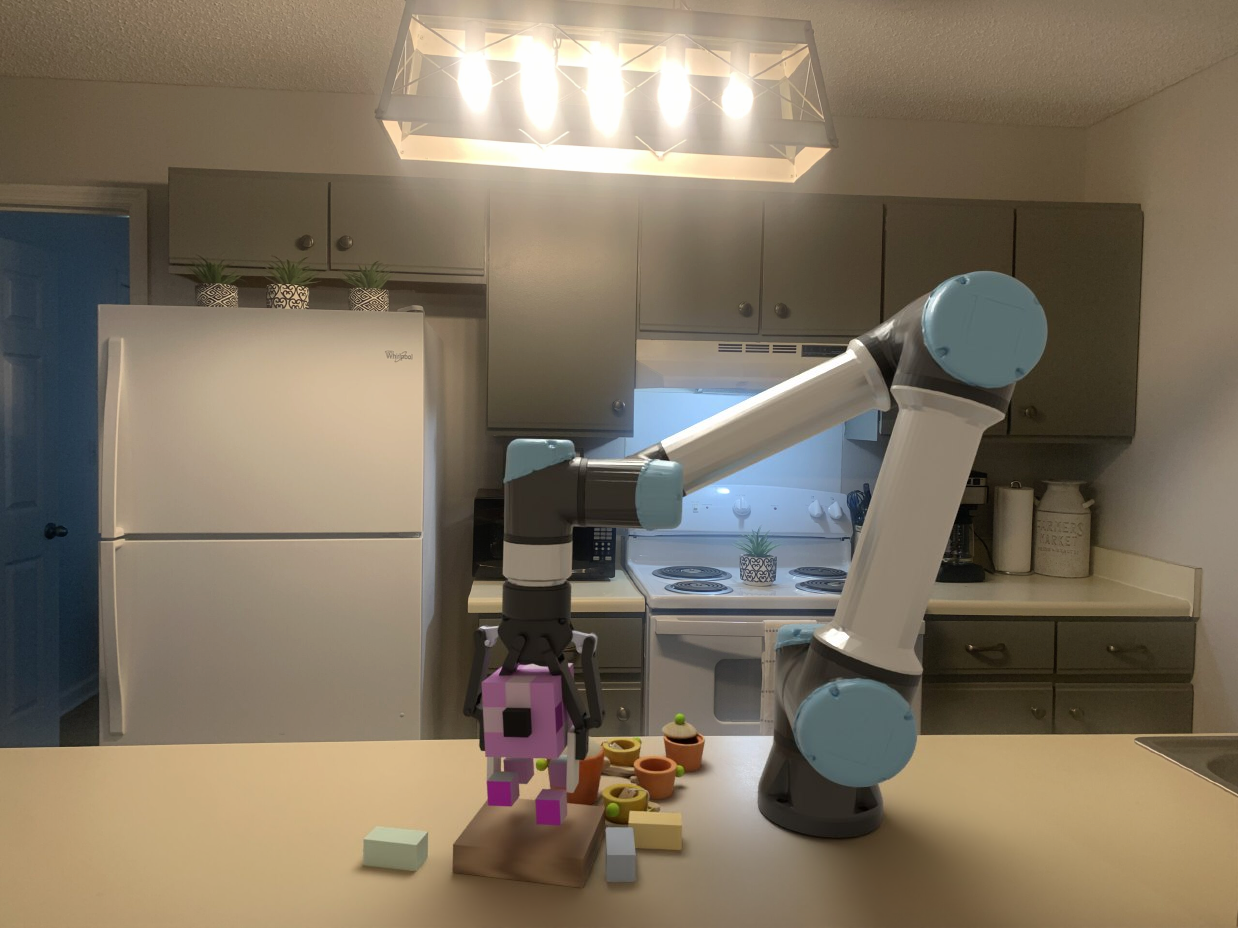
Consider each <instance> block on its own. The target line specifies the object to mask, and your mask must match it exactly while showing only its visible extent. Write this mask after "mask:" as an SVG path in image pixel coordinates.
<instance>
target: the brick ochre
mask: <svg viewBox="0 0 1238 928" xmlns="http://www.w3.org/2000/svg"><path fill="white" fill-rule="evenodd" d="M682 817H683V814H682V812H662V811H659V812H644V811H630V813H629V823H628V827H633V834H634V843H635V849H649V850H650V849H651V850H653V849H654V850H670V851H677V850H678V851H682V847H683V846H682V844H683V843H682V841H683V840H682V839H683V838H682V837H683V836H682V835H683V831H682V830H683V818H682Z"/></svg>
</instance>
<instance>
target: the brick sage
mask: <svg viewBox="0 0 1238 928" xmlns="http://www.w3.org/2000/svg"><path fill="white" fill-rule="evenodd" d="M362 847H363V855H362V856H363V857H362V858H363V860H362V861H363V863H362V865H363V866H369V867H374V868H375V867H376V868H377V867H378V868H386V869H393V870H394V869H395V870H402V871H412V872H417V871H418V870H419V868H420V867H421V866H422V865H423V864H424V862H425V861H426V860H428V857H429V856H428V855H429V831H425V830H417V829H409V828H399V827H398V828H397V827H388V826H387V827H386V826H382V825H381V826H380V825H376V826H375V827H374V828H373V829H372V830H371V831H370V832H369V833H368V834H367V835H366V836H365V837H364V838H363V846H362Z"/></svg>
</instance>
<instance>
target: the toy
mask: <svg viewBox="0 0 1238 928" xmlns="http://www.w3.org/2000/svg"><path fill="white" fill-rule="evenodd" d="M568 667H569V669H570V672H571V674H572V676H573V679H574V680H575V673H574V662H568ZM501 669H502V666H501V667H499V668H498V669H497V670H496V671H495V672H493V673H492V674H491V675H489V676H487V677H486V679H485V680H484V681H483V682H482V704H483V719H484V739H485V751H484V754H485V755H484V756H485V758H487V757H501V758H503V762H502V763H503V771H502V770H501V771H495V772H494V773H493V774H492V775H491V777H490V778H489V779H488V780H487V779H486V796H487V799H488V806H508V807H512V806H513V804H514V803H515V802H516V800H517V799H518V798H520V796H521V795H520V793H521V792H520V785H527V784H529V782H530V781H531V780H532V778H533V777H534V776H535V765H534V764H535V763H534V759H545V760H547V759H552V760H551V761H550V762H549V774H548V780H549V779H550V782H549V787H566V786H567V755H561V753H562V752H563V751H564V749H565V748H566V747H567V740H568V732H569V730H570V729H571V727H572V726H573V723H572V721H571V718H570V716H569V713H568V711H567V709H566V706H565V704H564V701H563V699H562V684H561V676H552V675H551V674H550V672H549V669H548V667H543V666H538V665H535V664H530V665H519V666H518V668H517V670H516V671H515V672H514V673H513V674H512V675H510V676H498V675H499V673H500V671H501ZM534 800H535V804H536V824H541V825H561V824H562V823H563V821H564V819H565V817H566V816H567V795H566V790H560V789H550V788H542V789H541V791H540V792H539V793H538V795H537V796H536V797H535V799H534Z"/></svg>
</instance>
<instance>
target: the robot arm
mask: <svg viewBox="0 0 1238 928" xmlns="http://www.w3.org/2000/svg"><path fill="white" fill-rule="evenodd" d="M1047 339H1048V322H1047V316H1046V313H1045V311H1044V308H1043V306H1042V304H1041V303H1040V302H1039V300H1038V298H1037V297H1036V295H1035V294H1034V292H1033V291H1032V289H1030V288H1029V287H1028V286H1026V285H1025V283H1023V282H1021V281H1020V280H1018V279H1017V278H1015V277H1013V276H1011V275H1008V274H1005V273H1002V272H998V271H992V270H991V271H990V270H982V271H981V270H979V271H973V272H968V273H964V274H959V275H955V276H953V277H950V278H948V279H945V280H944V281H943V282H942V283H940V284H938V285H937V286H936V287H935V288H934V289H933V290H931V291H929V292H928V293H925V294H923V295H922V296H919V297H917V298H916V299H914V300H913V301H911V302H910V303H909V304H907V305H906V306H904V308H902V309H901V310H899V311H898V312H897V313H895V314H894V315H892V316H891V317H889V318H888V319H887V320H885V321H883V322H882V323H880V324H879V325H878V326H876V327H874V328H873V329H870V330H869V331H867V332H865V333H864V334H862V335H859V336H857V337H855V338H853V339H851V340H850V341H849V344H848V346H847V348H846V351H845V352H843V353H841V354H838V355H837V356H835V357H833V358H830V359H828V360H826V361H824V362H822V363H819V364H818V365H816V366H814V367H812V368H810V369H808V370H806V371H803V372H801V373H800V374H797V375H796V376H793V377H791V378H789V379H787V380H785V381H782V382H781V383H779V384H777V385H774V386H772V387H771V388H768V389H765V391H761V392H760V393H758V394H756V395H754V396H752V397H749V398H748V399H746V400H743V401H741V402H739V403H737V404H734V405H733V406H731V407H729V408H727V409H725V410H723V411H720V412H719V413H716V414H715V415H712V416H710V417H708V418H705V419H704V420H701V421H699V422H698V423H695V424H693V425H691V426H689V427H688V428H685V429H683V430H681V431H679V432H677V433H675V434H673V435H670V436H668V437H667V438H664V439H662V440H660V441H659V442H656V443H654V444H652V445H650V446H647V447H646V448H644V449H641V450H640V451H637V452H635V453H633V454H630V455H627V456H625V457H623V458H589V457H588V458H584V457H581V456H580V457H578V456H577V453H576V451H575V450H576V449H575V444H574V443H573V441H572V440H569V439H549V438H547V439H545V438H544V439H543V438H540V439H539V438H516V439H514V440H512V441H510V443H509V444H508V445H507V448H506V458H505V459H506V460H505V461H506V462H505V472H504V473H505V474H504V478H503V485H504V486H503V488H504V489H503V491H504V492H503V494H504V495H503V498H504V499H503V500H504V506H503V508H504V509H503V511H504V512H503V518H504V519H503V520H504V521H503V523H504V524H503V527H504V528H503V532H504V533H503V551H502V552H503V553H502V554H503V555H502V556H503V557H502V575H503V576H504V577H505V578H506V580H505V581H504V583H502V597H501V598H502V602H501V603H502V604H501V605H502V606H501V608H502V609H501V621H500V622H499V625H497V626H490V625H487V624H484V625H482V626H480V627H478V628H477V629H475V630H474V631H473V634H472V635H473V636H472V637H473V644H474V649H475V650H474V655H473V661H472V664H471V665H472V666H471V670H470V674H469V679H468V683H467V688H466V689H467V690H466V694H465V698H464V705H463V708H462V714H463V715H464V716H465V717H467V718H470V717H471V718H473V719H476V720H477V721H478V723H479V731H478V732H479V737H478V738H479V741H478V747H479V750H480V752H485V739H484V719H483V700H482V682H483V681H484V680H485V679H487V678H488V672H489V667H490V661H491V658H492V652H493V646H494V645H496V644H497V640H498V637H499V639H500V641H501V642H502V643H503V645H504V647H505V648H506V649H507V651H508V653H507V655H506V657H505V659H504V661H503V663H502V666H501V667H502V669H501V671H500V673H499V675H498V676H510V675H512V674H513V673H514V672H515V671H516V670H517V668H518V666H519V665H530V664H535V665H538V666H543V667H548V669H549V672H550V674H551V675H552V676H561V684H562V699H563V701H564V704H565V706H566V709H567V711H568V713H569V716H570V718H571V721H572V723H573V726H572V727H571V729H570V730H569V732H568V740H567V786H566V792H569V793H573V792H574V790H575V789H576V787H577V785H578V783H579V760H583V761H584V759H585V758H586V756H587V754H588V750H589V737H590V730H592V729H599V728H601V727H602V725H603V724H604V721H605V719H606V718H607V713H606V712H607V711H606V706H605V705H606V704H605V701H604V700H605V699H604V695H603V688H602V682H601V677H600V676H601V674H600V671H599V670H600V669H599V668H600V667H599V664H598V663H599V662H598V657H597V651H598V645H599V638H600V636H599V634H598V633H597V632H595V631H591V632H589V633H586V632H582V631H578V630H576V629H575V628H574V626H573V624H572V618H571V616H572V615H571V614H572V584H571V582H570V581H569V580H567V579H569V578H570V577H571V576H572V575H573V573H572V572H573V571H572V570H573V569H572V567H573V529H574V527H579V528H587V527H595V528H596V527H597V528H612V529H613V528H614V529H615V528H616V529H630V530H631V529H632V530H635V529H637V530H646V531H648V532H652V531H655V530H674V529H677V528H678V527H679V526H680V525H681V524H682V519H683V499H684V497H686V496H689V495H691V494H693V493H695V492H697V491H699V490H701V489H704V488H706V487H708V486H710V485H712V484H714V483H717V482H719V481H720V480H724V479H725V478H728V477H730V476H732V475H733V474H736V473H738V472H740V471H742V470H744V469H746V468H748V467H751V466H754V465H755V464H758V463H759V462H761V461H763V460H767V458H770V457H773V456H775V455H776V454H779V453H781V452H783V451H785V450H788V449H789V448H791V447H793V446H795V445H797V444H801V443H802V442H804V441H806V440H808V439H810V438H813V437H815V436H818V435H819V434H821V433H823V432H825V431H829V430H830V429H832V428H834V427H836V426H838V425H841V424H842V423H843V424H844V423H845V422H847V421H849V420H852V419H853V418H855V417H857V416H860V415H862V414H864V413H867V412H868V411H871V410H873V409H874V410H878V411H881V412H887V411H890V410H892V409H894V408H896V407H898V412H897V417H896V419H895V423H894V426H893V429H892V433H891V435H890V439H889V441H888V445H887V446H886V447H887V448H886V451H885V454H884V457H883V461H882V463H881V467H880V470H879V474H878V476H877V479H876V483H875V486H874V489H873V492H872V496H871V499H870V502H869V505H868V508H867V512H866V514H865V516H864V520H863V524H862V528H861V530H860V533H859V535H858V539H857V543H856V545H855V549H854V553H853V555H852V559H851V562H850V566H849V569H848V571H847V574H846V578H845V582H844V584H843V587H842V591H841V593H840V597H839V600H838V604H837V607H836V610H835V613H834V616H833V619H832V620H831V621H830V622H828V623H810V622H809V623H808V622H807V623H805V622H804V623H790V624H785V625H784V624H783V625H782V626H781V627H779V628H778V630H777V633H776V637H775V638H776V639H775V645H774V647H773V650H774V652H775V670H774V672H775V673H774V674H775V675H774V705H773V707H774V708H773V735H772V736H773V740H772V745H771V748H770V751H769V754H768V757H767V758H766V762H765V765H764V767H763V770H762V772H761V774H760V775H761V776H760V778H759V780H758V786H757V806H758V808H759V811H760V812H761V813H762V815H764V816H765V817H766V818H767V819H769V820H770V821H771V822H773V823H775V824H777V825H779V826H781V827H783V828H785V829H788V830H790V831H794V832H797V833H801V834H804V835H809V836H814V837H820V838H821V837H823V838H835V839H836V838H837V839H838V838H852V837H858V836H863V835H866V834H868V833H871V832H872V831H875V830H876V829H877V828H878V827H880V826H881V824H882V822H883V819H884V817H883V816H884V800H883V799H884V798H883V794H882V791H881V787H880V784H882V783H884V782H886V781H889V780H891V779H893V778H895V776H897V775H898V774H900V772H902V770H904V769H905V768H906V766H907V765H908V764H909V762H910V761H911V759H912V758H913V755H914V753H915V750H916V747H917V743H918V726H917V719H916V716H915V712H914V710H913V709H912V707H913V705H914V704H913V703H914V699H915V697H916V694H917V691H918V688H919V684H920V680H921V677H922V674H923V671H924V668H923V666H922V665H921V664H922V663H921V662H920V661H919V659H918V657H917V655H916V653H915V646H916V642H917V638H918V636H919V632H920V629H921V626H922V622H923V620H924V616H925V614H926V611H927V608H928V604H929V601H930V598H931V597H932V596H931V595H932V592H933V589H934V585H935V583H936V580H937V577H938V573H939V570H940V567H941V564H942V561H943V558H944V554H945V552H946V548H947V546H948V542H949V540H950V536H951V534H952V530H953V526H954V523H955V520H956V517H957V514H958V511H959V508H960V505H961V502H962V499H963V495H964V492H965V489H966V486H967V482H968V481H969V478H970V477H969V476H970V474H971V471H972V467H973V466H974V465H973V464H974V461H975V459H976V455H977V452H978V449H979V445H980V443H981V439H982V437H983V434H984V432H985V431H986V430H987V429H988V428H990V427H992V426H993V425H995V424H997V423H999V422H1001V421H1003V420H1005V417H1006V414H1007V411H1008V408H1009V405H1010V401H1011V400H1012V399H1011V398H1012V396H1013V393H1014V390H1015V388H1016V387H1015V386H1016V384H1017V382H1018V381H1020V380H1022V379H1023V378H1025V377H1026V376H1027V375H1028V374H1029V373H1030V372H1031V371H1032V369H1034V368H1035V366H1036V365H1037V364H1038V362H1039V361H1040V360H1041V358H1042V357H1043V356H1042V355H1043V353H1044V351H1045V348H1046V345H1047ZM571 642H572V643H574V644H575V649H576V651H577V652H578V653H579V654H580V661H581V662H580V664H581V670H582V677H583V682H584V686H585V687H584V689H585V695H586V700H587V701H586V702H587V707H588V711H587V708H586V705H585V704H584V700H583V698H582V696H581V693H580V691H579V689H578V687H577V684H576V681H575V678H574V679H573V676H572V674H571V672H570V669H569V667H568V663H569V661H568V659H567V658H568V657H567V655H566V654H565V650H566V649H567V647H568V646H570V644H571ZM495 771H502V757H486V781H487V780H488V779H489V778H490V777H491V775H492V774H493V773H494V772H495Z"/></svg>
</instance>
